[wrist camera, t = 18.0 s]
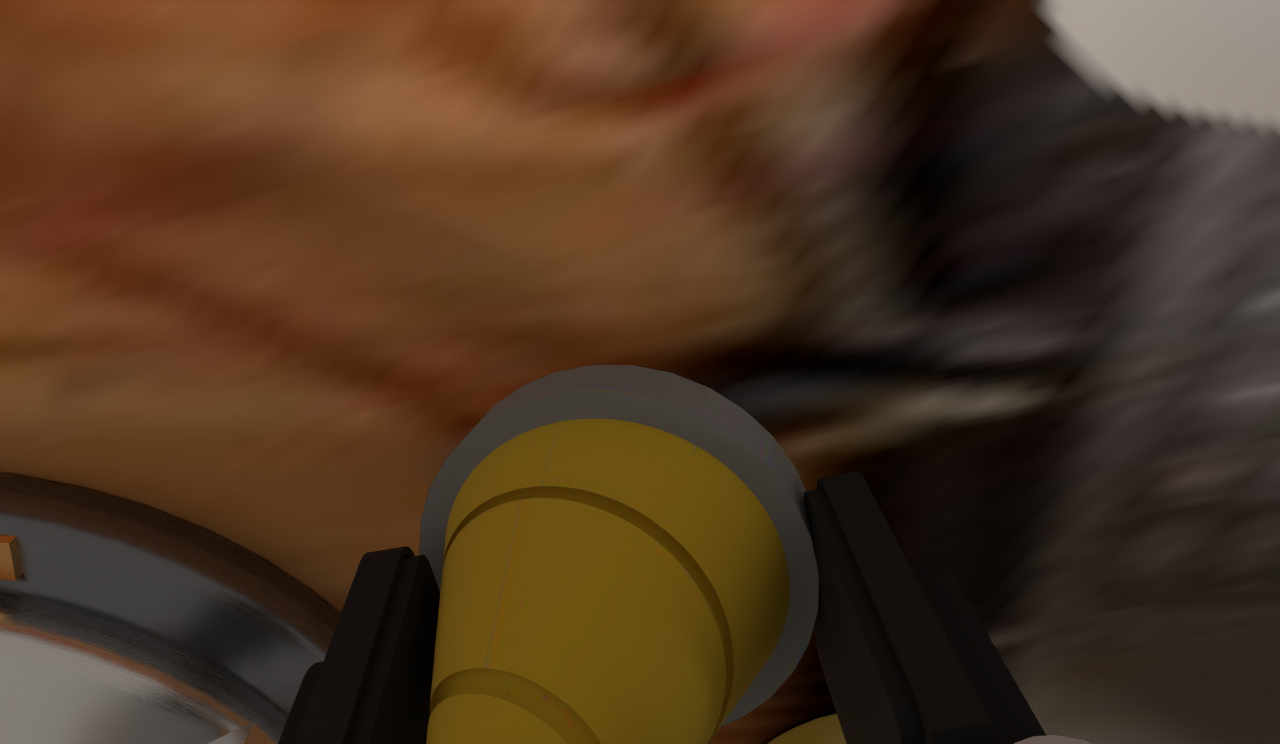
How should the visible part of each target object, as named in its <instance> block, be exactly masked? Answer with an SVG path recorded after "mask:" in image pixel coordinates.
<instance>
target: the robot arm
mask: <svg viewBox="0 0 1280 744" xmlns="http://www.w3.org/2000/svg"><path fill="white" fill-rule="evenodd" d="M804 505H805V509H806V513H807V516H808V520H809V524H810V528H811V533H812V538H813V544H814V550H815V555H816V561H817V567H818V572H819V594H818V612H817V616H816V620H815V624H814V626H815V637H816V644H817V650H818V655H819V659H820V663H821V666H822V670H823V673H824V676H825V679H826V682H827V685H828V688H829V691H830V694H831V698H832V701H833V704H834V707H835V710H836V713H837V716H838V719H839V722H840V725H841V728H842V732H843V735H844V738H845V741H846V744H1091V743H1089V742H1086V741H1084V740H1080V739H1075V738H1070V737H1065V736H1059V735H1048V736H1046V734H1045V732H1044V731H1043V729H1042V727H1041V725H1040V724H1039V722H1038V720H1037V719H1036V717H1035V715H1034V713H1033V712H1032V710H1031V708H1030V707H1029V705H1028V703H1027V701H1026V700H1025V698H1024V696H1023V694H1022V693H1021V691H1020V689H1019V688H1018V686H1017V684H1016V682H1015V681H1014V679H1013V677H1012V676H1011V674H1010V672H1009V670H1008V669H1007V667H1006V665H1005V663H1004V662H1003V660H1002V658H1001V657H1000V655H999V653H998V651H997V650H996V648H995V646H994V645H993V643H992V641H991V639H990V638H989V636H988V634H987V632H986V631H985V629H984V627H983V626H982V624H981V622H980V620H979V619H978V617H977V615H976V614H975V612H974V610H973V608H972V607H971V605H970V603H969V601H968V600H967V598H966V596H965V595H964V593H963V591H962V589H961V588H960V586H959V584H958V583H957V581H956V579H955V577H954V576H953V574H952V572H951V571H950V570H949V568H948V567H947V565H946V564H944V563H943V562H941V561H937V562H931V563H925V564H919V565H913V566H910V565H909V563H908V561H907V560H906V558H905V556H904V554H903V552H902V550H901V548H900V546H899V544H898V542H897V540H896V538H895V536H894V535H893V533H892V531H891V529H890V527H889V525H888V523H887V521H886V519H885V517H884V515H883V513H882V511H881V509H880V508H879V506H878V504H877V502H876V500H875V498H874V496H873V494H872V492H871V490H870V488H869V486H868V484H867V482H866V481H865V479H864V477H863V475H862V474H861V473H860V472H852V473H846V474H840V475H834V476H828V477H822V478H818V480H817V490H811V491H805V492H804ZM439 601H440V591H439V588H438V585H437V582H436V579H435V577H434V574H433V571H432V568H431V565H430V563H429V560H428V558H427V557H426V556H425V555H418V556H415V555H414V553H413V551H412V550H411V549H410V548H409V547H399V548H393V549H387V550H381V551H375V552H369V553H366V554H365V555H363V557H362V559H361V561H360V564H359V567H358V569H357V572H356V575H355V577H354V580H353V583H352V586H351V588H350V591H349V594H348V596H347V599H346V602H345V605H344V607H343V610H342V613H341V615H340V618H339V621H338V624H337V626H336V629H335V632H334V634H333V637H332V640H331V643H330V645H329V648H328V651H327V653H326V656H325V659H324V661H323V662H317V663H314V664H313V665H312V666H311V667H310V668H308V670H307V672H306V674H305V676H304V678H303V680H302V683H301V685H300V688H299V690H298V693H297V695H296V698H295V701H294V703H293V706H292V708H291V711H290V713H289V716H288V719H287V721H286V724H285V726H284V729H283V731H282V734H281V737H280V739H279V742H278V744H426V741H427V730H428V721H429V717H430V698H431V688H432V677H433V666H434V655H435V644H436V633H437V623H438V612H439Z"/></svg>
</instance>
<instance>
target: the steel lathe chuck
mask: <svg viewBox="0 0 1280 744" xmlns="http://www.w3.org/2000/svg"><path fill="white" fill-rule="evenodd" d="M287 719H288V717H287V716H286V715H285V714H283V713H282V712H281V711H280V710H278V709H277V708H276V707H275V706H274V705H272V704H271V703H270V702H269V701H267V700H266V699H265V698H263V697H262V696H260V695H259V694H257V693H256V692H254V691H253V690H251V689H249V688H248V687H246V686H245V685H243V684H242V683H240V682H239V681H237V680H236V679H234V678H232V677H231V676H229V675H228V674H226V673H225V672H223V671H222V670H220V669H218V668H216V667H214V666H212V665H210V664H208V663H206V662H204V661H202V660H200V659H198V658H196V657H195V656H193V655H191V654H189V653H187V652H185V651H183V650H181V649H179V648H177V647H175V646H173V645H171V644H169V643H167V642H164V641H162V640H159V639H157V638H154V637H152V636H149V635H147V634H144V633H142V632H139V631H137V630H134V629H132V628H129V627H127V626H124V625H122V624H119V623H117V622H114V621H111V620H108V619H105V618H101V617H98V616H95V615H92V614H88V613H85V612H82V611H78V610H75V609H72V608H69V607H65V606H62V605H59V604H55V603H52V602H47V601H43V600H38V599H33V598H28V597H24V596H19V595H14V594H10V593H5V592H0V744H278V742H279V739H280V737H281V734H282V731H283V729H284V726H285V724H286V721H287Z"/></svg>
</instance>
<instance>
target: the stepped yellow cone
mask: <svg viewBox="0 0 1280 744" xmlns="http://www.w3.org/2000/svg"><path fill="white" fill-rule="evenodd" d="M805 491H806V489H805V487H804V485H803V483H802V480H801V478H800V476H799V474H798V472H797V469H796V467H795V466H794V464H793V463H792V462H791V460H790V459H789V457H788V456H787V455H786V453H785V452H784V451H783V449H782V448H781V447H780V445H779V444H778V442H777V441H776V440H775V438H774V437H773V436H772V435H771V434H770V433H769V432H768V431H767V430H766V429H765V428H764V427H762V426H761V425H760V424H759V423H758V422H757V421H756V420H755V419H754V418H753V417H752V416H751V415H750V414H748V413H747V412H746V411H745V410H744V409H743V408H741V407H739V406H738V405H736V404H735V403H733V402H731V401H730V400H728V399H727V398H725V397H723V396H722V395H720V394H719V393H717V392H716V391H714V390H712V389H711V388H709V387H706V386H704V385H701V384H699V383H696V382H694V381H691V380H689V379H686V378H684V377H681V376H678V375H676V374H673V373H670V372H665V371H660V370H655V369H650V368H645V367H640V366H635V365H590V366H584V367H579V368H573V369H568V370H563V371H557V372H555V373H552V374H550V375H547V376H545V377H542V378H540V379H537V380H535V381H532V382H530V383H527V384H525V385H523V386H521V387H520V388H519V389H517V390H516V391H514V392H513V393H511V394H510V395H508V396H507V397H505V398H504V399H503V400H501V401H500V402H498V403H497V404H495V405H494V406H493V407H492V409H491V410H490V411H489V412H488V413H487V414H486V415H485V416H484V417H483V418H482V419H481V420H480V422H479V423H478V424H477V425H476V426H475V427H474V428H473V429H472V430H471V431H470V433H469V434H468V435H467V436H466V437H465V438H464V439H463V440H462V442H461V443H460V444H459V445H458V446H457V447H456V448H455V449H454V450H453V452H452V453H451V454H450V455H449V456H448V457H447V458H446V460H445V462H444V464H443V465H442V467H441V469H440V471H439V472H438V474H437V476H436V478H435V480H434V481H433V483H432V485H431V487H430V489H429V493H428V497H427V500H426V504H425V507H424V511H423V514H422V518H421V532H420V555H425V556H426V557H427V558H428V560H429V563H430V565H431V568H432V571H433V574H434V577H435V579H436V582H437V585H438V588H439V591H440V601H439V612H438V623H437V633H436V644H435V655H434V666H433V677H432V688H431V698H430V717H429V721H428V730H427V741H426V744H708V743H709V742H710V740H711V739H712V738H713V736H714V735H715V733H716V732H717V731H718V729H719V728H720V727H721V726H724V725H726V724H728V723H731V722H733V721H735V720H737V719H740V718H742V717H744V716H745V715H747V714H748V713H749V712H751V711H752V710H754V709H755V708H756V707H758V706H759V705H761V704H762V703H763V702H765V701H766V700H768V699H769V698H770V697H771V696H772V695H773V694H774V693H775V692H776V691H777V690H778V689H779V688H780V686H781V685H782V684H783V683H784V682H785V681H786V680H787V679H788V678H789V676H790V675H791V674H792V673H793V672H794V670H795V668H796V666H797V665H798V663H799V661H800V659H801V657H802V655H803V654H804V652H805V650H806V648H807V646H808V644H809V642H810V639H811V635H812V631H813V627H814V624H815V620H816V616H817V612H818V594H819V572H818V567H817V561H816V555H815V550H814V544H813V538H812V533H811V528H810V524H809V520H808V516H807V513H806V509H805V505H804V492H805Z"/></svg>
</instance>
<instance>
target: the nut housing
mask: <svg viewBox="0 0 1280 744" xmlns="http://www.w3.org/2000/svg"><path fill="white" fill-rule="evenodd" d="M0 592H5V593H10V594H14V595H19V596H24V597H28V598H33V599H38V600H43V601H47V602H52V603H55V604H59V605H62V606H65V607H69V608H72V609H75V610H78V611H82V612H85V613H88V614H92V615H95V616H98V617H101V618H105V619H108V620H111V621H114V622H117V623H119V624H122V625H124V626H127V627H129V628H132V629H134V630H137V631H139V632H142V633H144V634H147V635H149V636H152V637H154V638H157V639H159V640H162V641H164V642H167V643H169V644H171V645H173V646H175V647H177V648H179V649H181V650H183V651H185V652H187V653H189V654H191V655H193V656H195V657H196V658H198V659H200V660H202V661H204V662H206V663H208V664H210V665H212V666H214V667H216V668H218V669H220V670H222V671H223V672H225V673H226V674H228V675H229V676H231V677H232V678H234V679H236V680H237V681H239V682H240V683H242V684H243V685H245V686H246V687H248V688H249V689H251V690H253V691H254V692H256V693H257V694H259V695H260V696H262V697H263V698H265V699H266V700H267V701H269V702H270V703H271V704H272V705H274V706H275V707H276V708H277V709H278V710H280V711H281V712H282V713H283V714H285V715H286V716H287V717H288V716H289V713H290V711H291V708H292V706H293V703H294V701H295V698H296V695H297V693H298V690H299V688H300V685H301V683H302V680H303V678H304V676H305V674H306V672H307V670H308V668H310V667H311V666H312V665H313V664H314V663H317V662H323V661H324V659H325V656H326V653H327V651H328V648H329V645H330V643H331V640H332V637H333V634H334V632H335V629H336V626H337V624H338V621H339V618H340V615H341V614H340V613H338V612H337V611H336V610H335V609H333V608H332V607H331V606H330V605H329V604H327V603H326V602H325V601H324V600H323V599H321V598H320V597H319V596H318V595H316V594H315V593H314V592H313V591H312V590H310V589H309V588H307V587H306V586H304V585H303V584H301V583H300V582H298V581H297V580H295V579H294V578H292V577H291V576H289V575H287V574H286V573H284V572H283V571H281V570H280V569H278V568H277V567H275V566H274V565H272V564H270V563H269V562H267V561H266V560H264V559H263V558H261V557H259V556H257V555H255V554H253V553H251V552H249V551H247V550H245V549H244V548H242V547H240V546H238V545H236V544H234V543H232V542H230V541H228V540H226V539H224V538H222V537H220V536H218V535H216V534H214V533H212V532H210V531H208V530H206V529H204V528H201V527H199V526H196V525H194V524H191V523H189V522H186V521H184V520H181V519H178V518H176V517H173V516H171V515H168V514H166V513H163V512H161V511H158V510H156V509H153V508H151V507H148V506H145V505H142V504H138V503H135V502H131V501H128V500H125V499H121V498H118V497H114V496H111V495H107V494H104V493H101V492H97V491H94V490H90V489H87V488H84V487H78V486H73V485H68V484H63V483H58V482H53V481H48V480H42V479H37V478H32V477H27V476H22V475H17V474H7V473H0Z"/></svg>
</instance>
